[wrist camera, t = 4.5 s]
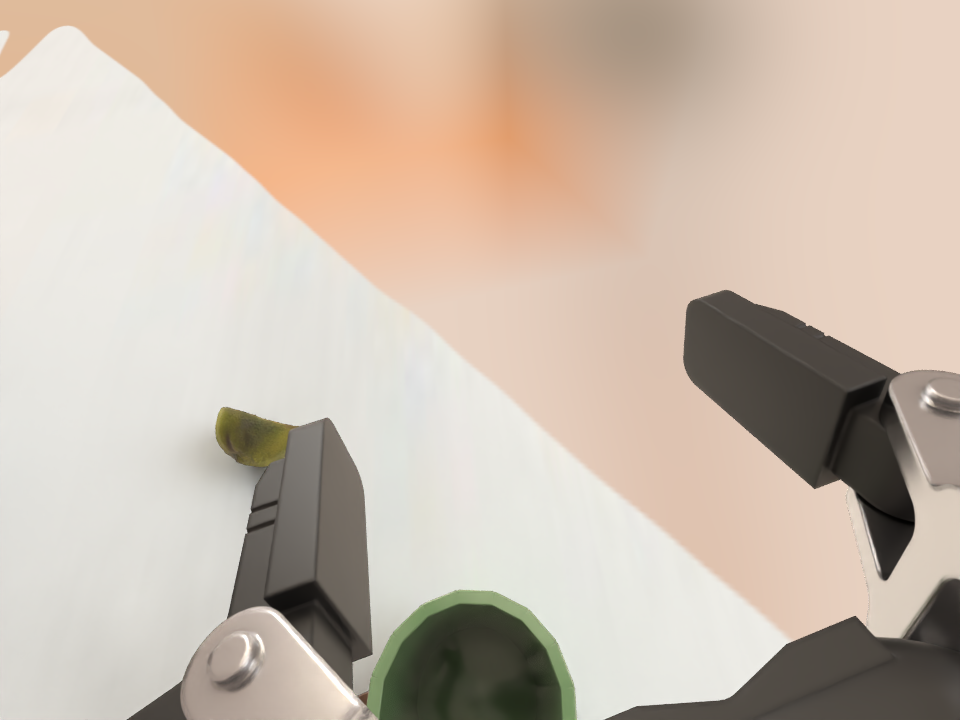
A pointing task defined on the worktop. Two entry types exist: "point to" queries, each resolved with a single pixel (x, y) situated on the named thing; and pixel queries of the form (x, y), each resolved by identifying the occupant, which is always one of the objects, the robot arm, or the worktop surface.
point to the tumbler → (472, 664)
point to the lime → (251, 437)
